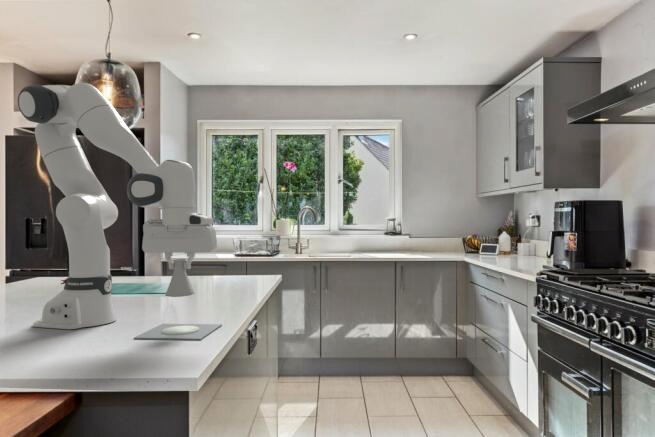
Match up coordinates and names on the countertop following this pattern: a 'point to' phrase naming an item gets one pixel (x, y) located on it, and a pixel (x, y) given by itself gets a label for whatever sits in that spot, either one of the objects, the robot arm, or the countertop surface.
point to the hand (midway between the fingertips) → (179, 269)
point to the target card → (179, 332)
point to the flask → (179, 281)
